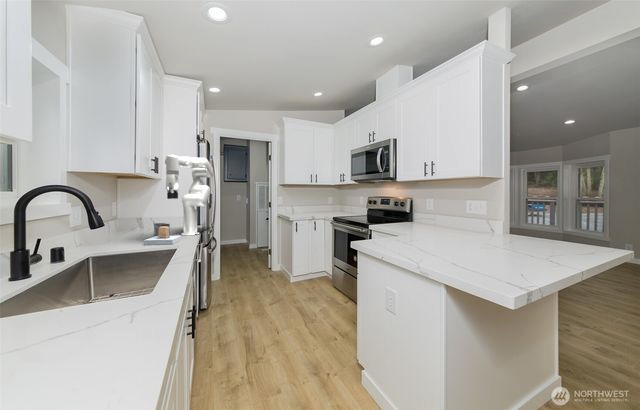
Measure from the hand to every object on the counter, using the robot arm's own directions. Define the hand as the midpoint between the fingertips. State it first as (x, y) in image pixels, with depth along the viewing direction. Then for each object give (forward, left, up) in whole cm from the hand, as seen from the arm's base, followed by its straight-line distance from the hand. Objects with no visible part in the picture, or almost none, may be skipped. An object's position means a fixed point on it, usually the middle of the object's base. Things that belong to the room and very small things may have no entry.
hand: (172, 198), depth 173 cm
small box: (-8, -10, -29) cm, 31 cm away
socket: (+10, -2, -28) cm, 30 cm away
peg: (+10, -2, -28) cm, 30 cm away
